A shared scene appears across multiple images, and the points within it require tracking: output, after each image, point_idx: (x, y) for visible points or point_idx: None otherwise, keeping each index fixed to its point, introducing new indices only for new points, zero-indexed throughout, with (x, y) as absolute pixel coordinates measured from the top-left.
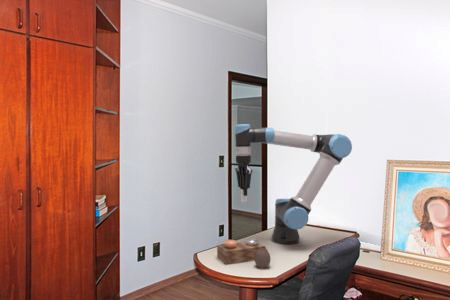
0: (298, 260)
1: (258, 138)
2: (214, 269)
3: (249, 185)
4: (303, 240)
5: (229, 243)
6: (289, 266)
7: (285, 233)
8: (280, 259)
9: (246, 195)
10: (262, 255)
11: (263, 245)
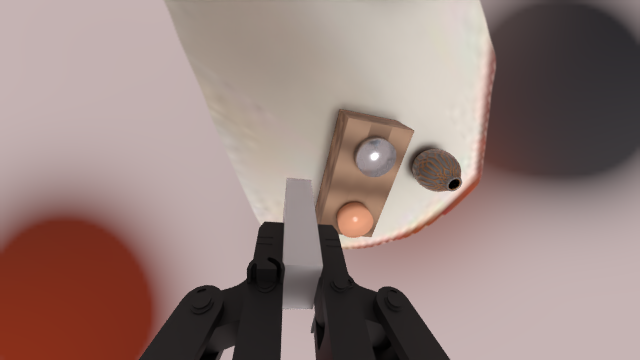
0: (474, 41)
1: None
2: (365, 243)
3: (424, 333)
4: None
5: (366, 232)
6: (474, 105)
7: None
8: (429, 84)
9: (332, 231)
10: (452, 186)
11: (405, 130)
